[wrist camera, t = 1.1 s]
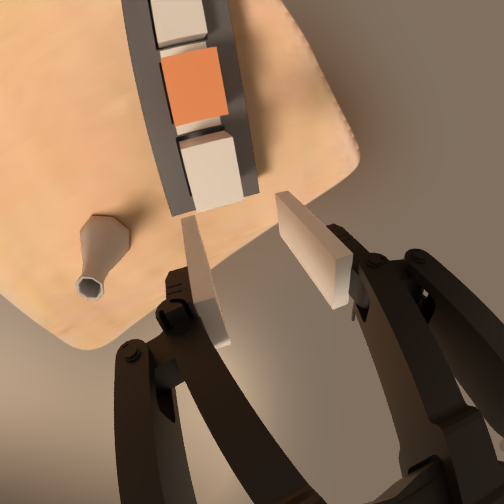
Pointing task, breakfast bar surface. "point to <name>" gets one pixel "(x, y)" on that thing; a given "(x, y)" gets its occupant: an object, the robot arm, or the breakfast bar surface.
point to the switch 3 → (212, 170)
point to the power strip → (158, 104)
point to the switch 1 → (178, 22)
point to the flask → (100, 253)
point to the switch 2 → (194, 85)
